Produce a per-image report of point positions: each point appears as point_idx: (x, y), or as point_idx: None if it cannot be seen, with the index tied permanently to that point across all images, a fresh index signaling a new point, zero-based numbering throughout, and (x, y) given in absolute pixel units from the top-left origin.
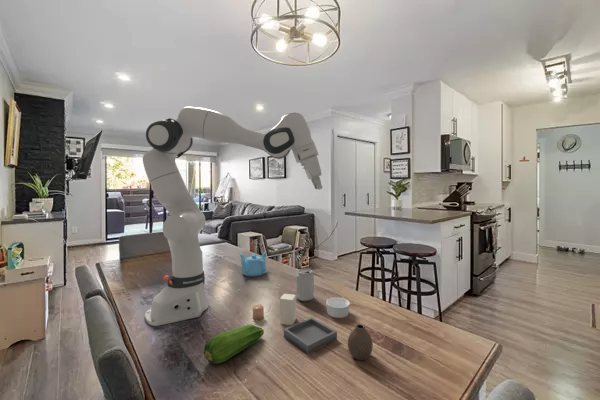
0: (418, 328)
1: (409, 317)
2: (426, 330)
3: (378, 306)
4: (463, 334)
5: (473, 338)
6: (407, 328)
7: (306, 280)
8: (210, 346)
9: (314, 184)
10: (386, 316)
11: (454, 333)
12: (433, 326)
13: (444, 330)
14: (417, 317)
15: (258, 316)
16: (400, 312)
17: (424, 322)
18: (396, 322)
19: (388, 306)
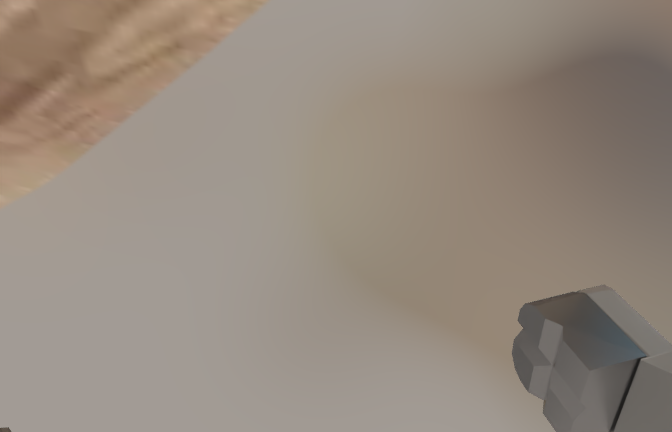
0: (28, 92)
1: (108, 85)
2: (21, 109)
3: (189, 5)
4: (28, 181)
5: (12, 193)
6: (17, 63)
7: None
8: None
9: (654, 385)
10: (99, 16)
11: (27, 165)
12: (57, 131)
13: (38, 150)
14: (113, 106)
15: None
16: (144, 68)
17: (79, 116)
18: (55, 39)
19: (192, 40)
